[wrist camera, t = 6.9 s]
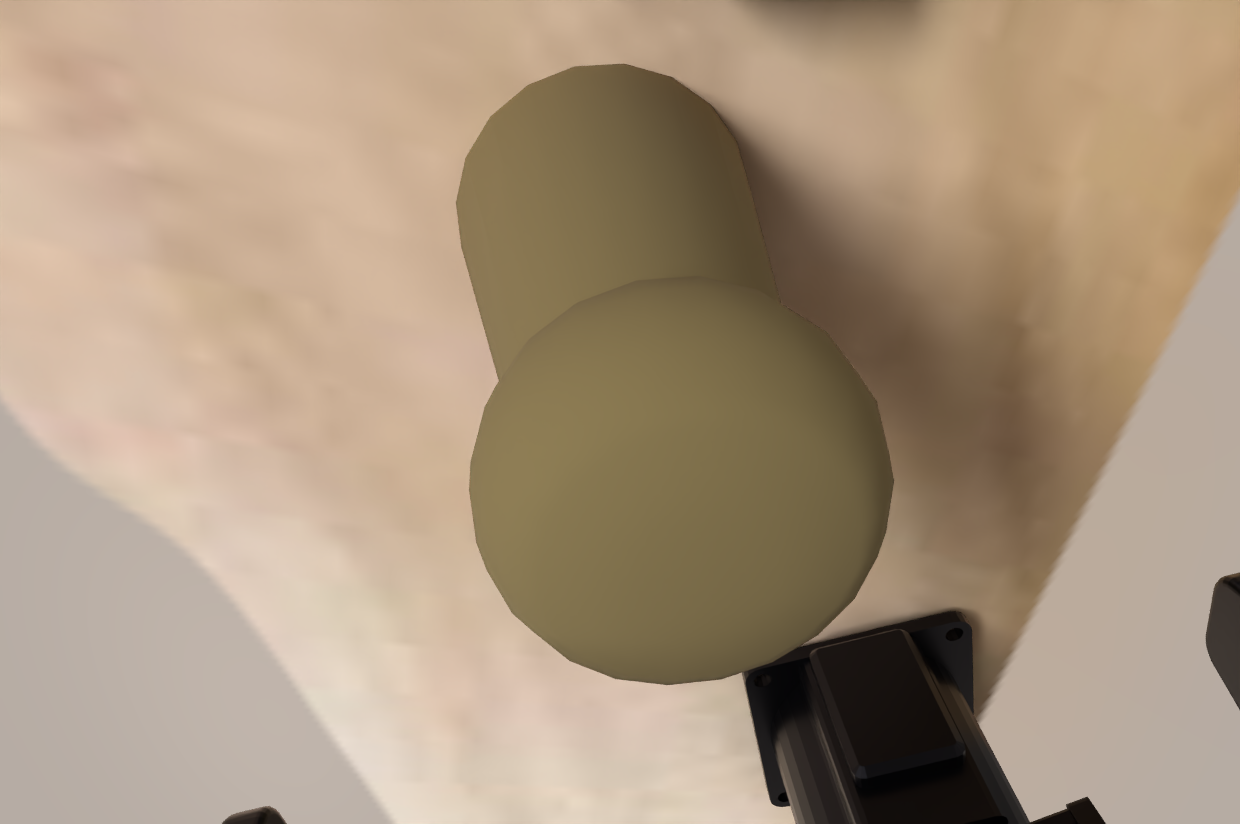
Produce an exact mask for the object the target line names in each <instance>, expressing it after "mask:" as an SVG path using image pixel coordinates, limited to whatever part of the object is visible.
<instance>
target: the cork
mask: <svg viewBox="0 0 1240 824" xmlns="http://www.w3.org/2000/svg"><path fill="white" fill-rule="evenodd" d="M456 207H457V215H458V223H459V231H460V239H461V247H462V251H463V254H464V258H465V261H466V265H467V269H468V272H469V276H470V279H471V283H472V286H473V290H474V294H475V297H476V301H477V304H478V308H479V311H480V315H481V319H482V322H483V326H484V329H485V333H486V336H487V340H488V344H489V347H490V351H491V354H492V358H493V362H494V365H495V369H496V372H497V376H498V379H499V382H498V384H497V385H496V387H495V389H494V391H493V393H492V395H491V396H490V398H489V400H488V402H487V404H486V406H485V408H484V412H483V416H482V420H481V424H480V428H479V432H478V435H477V439H476V443H475V447H474V451H473V455H472V459H471V466H470V484H469V492H470V500H471V507H472V514H473V521H474V529H475V536H476V543H477V545H478V548H479V551H480V553H481V556H482V559H483V561H484V564H485V567H486V569H487V571H488V573H489V575H490V576H491V578H492V580H493V581H494V583H495V585H496V587H497V588H498V590H499V592H500V593H501V595H502V597H503V598H504V600H505V602H506V603H507V605H508V607H509V608H510V610H511V612H512V613H513V614H514V615H515V616H516V617H517V618H518V619H519V620H521V621H522V622H523V623H524V624H525V625H526V626H527V627H529V628H530V629H531V630H532V631H533V632H534V633H536V634H537V635H538V636H539V637H541V638H542V639H543V640H544V641H546V642H547V643H548V644H549V645H551V646H552V647H553V648H554V649H556V650H557V651H558V652H559V653H561V654H562V655H563V656H564V657H566V658H567V659H568V660H569V661H571V662H574V663H577V664H579V665H582V666H584V667H587V668H589V669H592V670H594V671H597V672H600V673H602V674H605V675H607V676H610V677H612V678H615V679H621V680H629V681H638V682H646V683H655V684H663V685H673V684H682V683H691V682H701V681H710V680H719V679H723V678H726V677H729V676H732V675H736V674H739V673H742V672H745V671H748V670H751V669H754V668H757V667H760V666H763V665H766V664H769V663H772V662H774V661H775V660H777V659H779V658H780V657H782V656H784V655H785V654H787V653H789V652H790V651H792V650H794V649H795V648H797V647H799V646H800V645H802V644H804V643H805V642H807V641H809V640H810V639H812V638H814V637H815V636H817V635H818V634H819V633H820V632H821V631H822V630H823V629H824V628H825V627H827V626H828V625H829V624H830V623H831V622H832V621H833V620H834V619H835V618H836V617H837V616H838V615H839V614H840V613H841V612H842V611H843V610H844V609H845V608H846V607H847V606H848V605H849V604H850V603H851V602H852V601H853V600H854V598H855V597H856V595H857V593H858V591H859V589H860V587H861V586H862V584H863V582H864V580H865V578H866V577H867V575H868V573H869V571H870V569H871V567H872V566H873V564H874V562H875V560H876V558H877V556H878V554H879V551H880V548H881V545H882V542H883V539H884V536H885V533H886V528H887V522H888V516H889V509H890V503H891V497H892V491H893V484H894V479H893V473H892V467H891V462H890V456H889V451H888V447H887V443H886V439H885V435H884V430H883V426H882V422H881V418H880V414H879V410H878V406H877V401H876V400H875V398H874V397H873V395H872V394H871V392H870V391H869V389H868V388H867V386H866V385H865V383H864V382H863V381H862V379H861V378H860V376H859V375H858V373H857V372H856V371H855V369H854V368H853V367H852V365H851V364H850V363H849V361H848V360H847V359H846V357H845V356H844V355H843V353H842V352H841V351H840V349H839V348H838V347H837V345H836V344H835V343H834V341H833V340H832V339H831V337H830V336H829V335H828V333H827V332H825V331H824V330H822V329H821V328H819V327H817V326H816V325H814V324H812V323H811V322H809V321H808V320H806V319H804V318H803V317H801V316H800V315H798V314H796V313H795V312H793V311H792V310H790V309H788V308H787V307H785V306H784V305H782V304H781V302H780V298H779V294H778V291H777V287H776V283H775V279H774V276H773V272H772V268H771V265H770V261H769V257H768V253H767V250H766V246H765V242H764V239H763V235H762V231H761V227H760V224H759V220H758V216H757V213H756V209H755V205H754V201H753V198H752V194H751V190H750V187H749V183H748V179H747V176H746V172H745V169H744V166H743V162H742V159H741V155H740V152H739V148H738V145H737V141H736V140H735V139H734V137H733V136H732V134H731V133H730V132H729V130H728V129H727V127H726V126H725V124H724V123H723V122H722V120H721V119H720V117H719V116H718V115H717V113H716V112H715V110H714V109H713V108H712V106H711V105H710V104H709V103H708V102H706V101H705V100H703V99H702V98H700V97H699V96H698V95H696V94H695V93H693V92H692V91H690V90H689V89H688V88H686V87H685V86H683V85H682V84H680V83H679V82H678V81H676V80H675V79H673V78H672V77H669V76H666V75H662V74H658V73H655V72H651V71H648V70H644V69H641V68H637V67H634V66H630V65H627V64H613V65H595V66H577V67H572V68H570V69H567V70H565V71H562V72H560V73H557V74H555V75H552V76H550V77H547V78H545V79H542V80H540V81H537V82H535V83H532V84H530V85H528V86H526V87H525V88H524V89H523V90H522V91H521V92H519V93H518V94H517V95H516V96H515V97H513V98H512V99H511V100H510V101H509V102H508V103H506V104H505V105H504V106H503V107H502V108H500V109H499V110H498V111H497V112H496V113H495V114H493V115H492V116H491V117H490V118H489V120H488V122H487V123H486V125H485V127H484V128H483V130H482V132H481V133H480V135H479V137H478V138H477V140H476V142H475V143H474V145H473V147H472V148H471V150H470V152H469V153H468V155H467V157H466V159H465V163H464V168H463V173H462V178H461V182H460V187H459V192H458V196H457V201H456Z"/></svg>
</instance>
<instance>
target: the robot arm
mask: <svg viewBox="0 0 1240 824" xmlns="http://www.w3.org/2000/svg"><path fill="white" fill-rule="evenodd" d="M953 628H954V629H953ZM1206 646H1207V650H1208V653H1209V656H1210V658H1211V661H1212V663H1213V665H1214V666H1215V668H1216V670H1217V672H1218V673H1219V675H1220V677H1221V678H1222V680H1223V682H1224V683H1225V685H1226V687H1227V689H1228V690H1229V692H1230V694H1231V696H1232V697H1233V699H1234V701H1235V702H1236V704H1237V706H1238V707H1239V709H1240V573H1236V574H1232V575H1228V576H1224V577H1222V578H1220V580H1219V581H1218V582H1217V583H1216V584H1215V587H1214V591H1213V597H1212V603H1211V609H1210V614H1209V621H1208V626H1207V632H1206ZM762 674H764V675H762ZM759 675H761V676H759ZM742 676H743V680H744V685H745V689H746V694H747V699H748V703H749V708H750V713H751V717H752V722H753V726H754V731H755V736H756V740H757V745H758V750H759V754H760V759H761V763H762V768H763V773H764V777H765V782H766V787H767V791H768V794H769V798H770V801H771V803H772V804H773V805H775V806H779V807H786V806H791V809H792V813H793V816H794V819H795V823H796V824H1105V822H1104V820H1103V819H1102V817H1101V816H1100V814H1099V813H1098V811H1097V810H1096V808H1095V807H1094V805H1093V804H1092V802H1091V801H1090V799H1089V798H1088V797H1085V798H1082V799H1080V800H1077V801H1074V802H1072V803H1069V804H1066V807H1067V809H1065V810H1062V811H1060V812H1057V813H1054V814H1052V815H1049V816H1046V817H1044V818H1041V819H1038V820H1036V821H1033V822H1029V820H1028V818H1027V816H1026V814H1025V812H1024V810H1023V808H1022V807H1021V804H1020V803H1019V801H1018V799H1017V797H1016V795H1015V793H1014V791H1013V789H1012V788H1011V785H1010V784H1009V782H1008V780H1007V778H1006V776H1005V774H1004V772H1003V771H1002V768H1001V766H1000V765H999V763H998V761H997V759H996V757H995V755H994V753H993V751H992V750H991V747H990V746H989V744H988V742H987V740H986V738H985V736H984V734H983V732H982V730H981V729H980V727H979V725H978V723H977V721H976V719H975V717H974V709H973V657H972V629H971V626H970V624H969V622H968V621H967V619H966V617H965V616H964V615H963V614H962V613H961V612H956V611H952V612H946V613H941V614H937V615H933V616H929V617H925V618H921V619H917V620H912V621H908V622H904V623H900V624H896V625H892V626H888V627H883V628H879V629H875V630H871V631H867V632H863V633H859V634H854V635H850V636H846V637H842V638H838V639H834V640H830V641H825V642H821V643H817V644H813V645H809V646H805V647H801V648H796V649H794V650H792V651H790V652H789V653H787V654H785V655H784V656H782V657H780V658H779V659H777V660H775V661H774V662H772V663H769V664H766V665H763V666H760V667H757V668H754V669H751V670H748V671H745V672H742ZM222 824H287V823H286V822H285V820H284V819H283V818H282V816H281V815H280V813H279V812H278V811H277V810H276V809H274V808H271V807H270V806H265V807H260V808H256V809H252V810H248V811H244V812H239V813H236V814H233V815H231V816H230V817H228V818H227V819H226V820H225V821H224V822H223V823H222Z"/></svg>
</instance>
